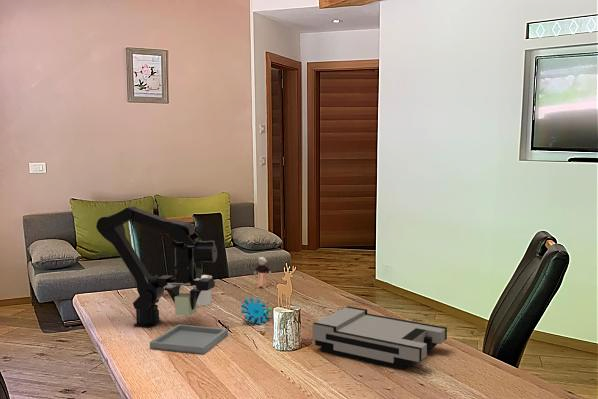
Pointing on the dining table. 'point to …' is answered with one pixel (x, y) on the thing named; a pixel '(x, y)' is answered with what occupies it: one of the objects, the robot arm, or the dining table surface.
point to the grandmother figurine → (262, 273)
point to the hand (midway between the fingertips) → (185, 308)
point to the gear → (255, 311)
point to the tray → (189, 339)
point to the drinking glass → (204, 294)
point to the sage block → (183, 305)
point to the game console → (376, 337)
